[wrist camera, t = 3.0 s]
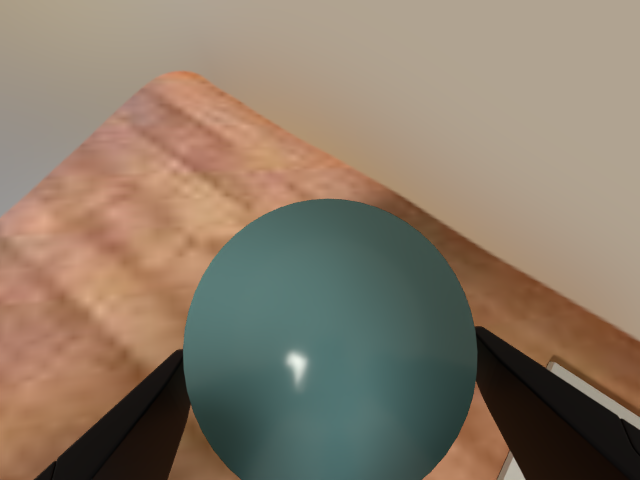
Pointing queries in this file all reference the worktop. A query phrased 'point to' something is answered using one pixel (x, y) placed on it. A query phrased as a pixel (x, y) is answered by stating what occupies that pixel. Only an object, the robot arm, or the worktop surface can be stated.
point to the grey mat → (511, 472)
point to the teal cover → (330, 347)
